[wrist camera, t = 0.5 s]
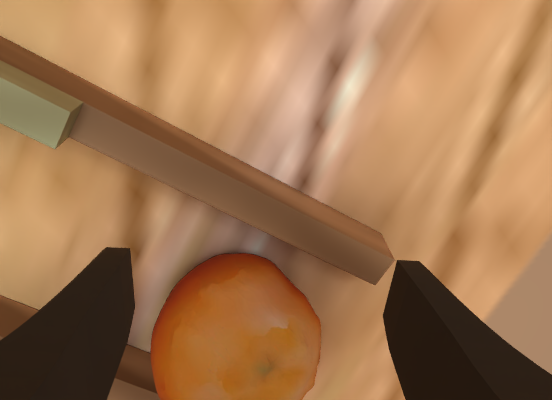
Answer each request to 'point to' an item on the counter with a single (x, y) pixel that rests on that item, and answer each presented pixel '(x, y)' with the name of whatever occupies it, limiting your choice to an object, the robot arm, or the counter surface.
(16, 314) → the chute
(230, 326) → the fruit
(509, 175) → the counter surface
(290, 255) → the counter surface
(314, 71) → the counter surface
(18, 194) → the counter surface
